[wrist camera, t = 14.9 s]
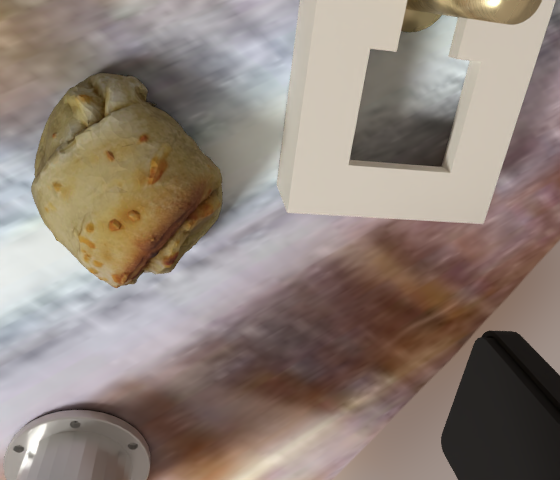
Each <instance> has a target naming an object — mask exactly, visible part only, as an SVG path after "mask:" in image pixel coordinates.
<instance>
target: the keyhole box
mask: <svg viewBox="0 0 560 480" xmlns="http://www.w3.org/2000/svg"><path fill="white" fill-rule="evenodd" d="M555 1H556V0H542V2H541V4H540V6H539V8H538V9H537V11H536V12H535V13H534V14H533V15H532V16H531V17H530V18H529V19H527V20H526V21H524V22H522V23H519V24H515V25H508V24H501V23H494V22H488V21H481V20H474V19H467V18H460V17H458V20H457V24H456V28H455V32H454V36H453V40H452V44H451V48H450V52H449V57H452V58H455V59H461V60H469V61H470V62H469V66H468V69H467V73H466V77H465V81H464V84H463V88H462V92H461V95H460V99H459V103H458V107H457V110H456V114H455V118H454V121H453V125H452V129H451V133H450V136H449V140H448V144H447V147H446V151H445V155H444V158H443V162H442V166H441V167H436V166H423V165H410V164H397V163H384V162H371V161H359V160H350V155H351V149H352V144H353V139H354V133H355V128H356V123H357V117H358V112H359V107H360V101H361V96H362V91H363V85H364V80H365V75H366V69H367V64H368V59H369V53H370V49H377V50H385V51H394V52H397V48H398V43H399V38H400V33H401V28H402V24H403V19H404V14H405V9H406V4H407V0H300V3H299V11H298V19H297V27H296V35H295V43H294V51H293V59H292V67H291V75H290V83H289V91H288V98H287V106H286V114H285V122H284V130H283V138H282V146H281V154H280V162H279V170H278V178H277V187H278V189H279V192H280V195H281V197H282V200H283V203H284V205H285V208H286V211H287V213H301V214H318V215H336V216H353V217H371V218H388V219H405V220H423V221H440V222H458V223H475V224H484V221H485V218H486V215H487V212H488V209H489V206H490V202H491V199H492V196H493V193H494V190H495V187H496V184H497V181H498V178H499V175H500V171H501V168H502V165H503V162H504V159H505V156H506V153H507V150H508V147H509V144H510V141H511V137H512V134H513V131H514V128H515V125H516V122H517V119H518V116H519V113H520V110H521V107H522V103H523V100H524V97H525V94H526V91H527V88H528V85H529V82H530V79H531V76H532V73H533V69H534V66H535V63H536V60H537V57H538V54H539V51H540V48H541V45H542V42H543V38H544V35H545V32H546V29H547V26H548V23H549V20H550V17H551V14H552V11H553V8H554V4H555Z"/></svg>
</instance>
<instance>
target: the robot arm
mask: <svg viewBox="0 0 560 480" xmlns="http://www.w3.org/2000/svg"><path fill="white" fill-rule="evenodd" d="M441 444H442V449H443V452H444V454H445V456H446V458H447V460H448V462H449V464H450V465H451V467H452V469H453V471H454V472H455V474H456V476H457V478H458V480H560V376H559V375H558V373H557V372H555V370H554V369H553V368H552V367H551V366H550V365H549V364H548V363H547V362H546V361H545V360H544V359H543V358H542V357H541V356H540V355H539V354H538V353H537V352H536V351H535V350H534V349H533V348H532V347H531V346H530V345H529V344H528V343H527V342H526V341H525V340H524V339H523V338H522V337H521V336H520V335H519V334H518V333H516V332H512V331H487V332H485V333H484V334H483V335H482V337H481V338H478V339H477V340H476V341H475V343H474V346H473V348H472V351H471V354H470V357H469V360H468V362H467V365H466V368H465V371H464V374H463V376H462V379H461V382H460V385H459V388H458V390H457V393H456V396H455V399H454V402H453V405H452V407H451V411H450V413H449V416H448V419H447V421H446V424H445V427H444V430H443V433H442V437H441ZM150 458H151V454H150V451H149V447H148V444H147V443H146V441H145V439H144V437H143V436H142V435H141V434H140V433H139V432H138V431H137V430H136V429H135V428H134V427H132V426H131V425H130V424H128V423H127V422H125V421H123V420H121V419H119V418H117V417H115V416H112V415H108V414H105V413H102V412H96V411H90V410H68V411H59V412H55V413H51V414H48V415H44V416H42V417H40V418H37V419H35V420H33V421H31V422H30V423H28V424H27V425H25V426H24V427H22V428H21V429H20V430H19V431H18V432H17V433H16V434H15V435H14V437H13V439H12V440H11V442H10V444H9V446H8V449H7V451H6V454H5V456H4V463H3V469H4V475H5V478H6V480H147V478H148V476H149V470H150Z"/></svg>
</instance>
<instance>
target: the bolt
mask: <svg viewBox="0 0 560 480" xmlns="http://www.w3.org/2000/svg"><path fill="white" fill-rule="evenodd" d="M541 2H542V0H407V4H406V9H405V14H404V19H403V24H402V28H401V31H403V32H417V31H421V30H423V29H425V28H427V27H429V26H431V25H432V24H433V23H435V22H436V21H437V20H438V19H439V18H440V17H441V15H447V16H453V17H460V18H467V19H474V20H481V21H488V22H494V23H501V24H508V25H515V24H519V23H522V22H524V21H526V20H527V19H529V18H530V17H531V16H532V15H533V14H534V13H535V12H536V11H537V9H538V8H539V6H540V4H541Z"/></svg>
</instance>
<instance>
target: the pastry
mask: <svg viewBox="0 0 560 480" xmlns="http://www.w3.org/2000/svg"><path fill="white" fill-rule="evenodd" d="M147 93H148V91H147V88H146V87H145V86H144V85H143V84H142V83H141V82H140V81H139V80H138V79H137V78H135V77H133V76H129V75H128V76H127V77H126V76H123V75H117V74H107V73H99V74H96V75H93V76H90V77H89V78H87V79H86V80H84V81H82V82H80V83H79V84H77V85H76V86H75V87H72V88H70V89H69V90H68V91H67V93H66V94H65V95H64V96H63V98H62V99H61V100H60V102H59V103H58V104H57V105H56V107H55V108H54V109H53V111H52V113H51V115H50V117H49V119H48V121H47V123H46V125H45V128H44V131H43V133H42V136H41V140H40V144H39V147H38V151H37V154H36V160H35V179H34V181H33V183H32V186H31V192H32V195H33V198H34V202H35V204H36V206H37V208H38V211H39V213H40V215H41V217H42V219H43V221H44V223H45V225H46V226H47V227H48V228H49V229H50V230H51V232H52V233H53V235H54V236H55V238H56V240H57V241H59V242H60V243H61V244H63V245H64V246H65V247H66V248H67V249H68V250H69V251H70V252H71V253H72V254H73V255H74V256H75V257H76V258H77V259H78V261H79V262H80V263H81V264H82V265H83V266H84V267H85V268H86V269H88V270H89V272H91V273H93V274H94V275H95V276H97V277H98V278H99V279H100V280H103V281H105V282H107V283H108V284H110V285H111V286H113V287H115V288H118V287H120V286H123V285H128V284H135V283H136V282H137V279H138V277H139V276H140V275H141V274H142V273H143V272H144V273H148V272H152V273H154V274H164V273H169V272H171V271H172V270H173V269H174V268H175V266H176V264H177V263H178V261H179V260H180V258H181V257H182V256H183V255H184V253H185V252H187V251H188V250H190V249H191V248H192V246H193V245H195V244H196V243H197V241H198V240H199V239H200V238H201V237H202V236H204V235H205V234H206V233H207V231H208V230H209V229H210V228H211V227H212V225H213V224H214V223H215V222H216V221H217V219H218V217H219V213H220V210H221V207H222V193H223V192H222V185H221V183H222V176H221V173H220V169H219V168H218V167H217V166H216V165H215V164H214V163H213V162H212V161H211V159H210V158H209V157H207V156H205V155H204V154H203V153H202V152H201V150H200V149H199V148H198V146H197V144H196V142H195V141H194V140H193V139H192V138H191V137H190V136H188V135H187V134H186V133H185V131H184V130H183V128H182V127H181V126H180V125H179V124H178V123H177V122H176V121H175V120H174V119H173V118H172V117H171V116H170V115H168V114H167V113H166V112H164V111H162V110H160V109H158V108H156V107H155V106H156V104H152V103H151V102H147V101H146V97H147Z"/></svg>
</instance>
